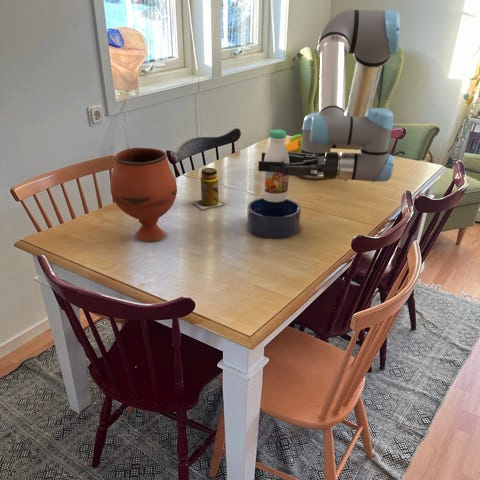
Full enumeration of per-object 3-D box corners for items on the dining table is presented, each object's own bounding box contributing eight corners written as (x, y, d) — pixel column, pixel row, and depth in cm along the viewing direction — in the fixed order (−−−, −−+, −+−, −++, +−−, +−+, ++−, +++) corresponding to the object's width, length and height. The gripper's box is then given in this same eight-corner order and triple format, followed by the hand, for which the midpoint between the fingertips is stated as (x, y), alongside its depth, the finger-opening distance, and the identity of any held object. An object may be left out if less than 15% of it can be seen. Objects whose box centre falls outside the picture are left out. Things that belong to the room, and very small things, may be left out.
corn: (311, 132, 221) (292, 142, 207) (311, 149, 225) (291, 159, 211) (297, 131, 225) (277, 140, 211) (297, 147, 229) (277, 158, 215)
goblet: (126, 222, 156) (114, 144, 142) (184, 223, 156) (179, 145, 141) (111, 249, 141) (97, 164, 126) (176, 250, 140) (169, 165, 126)
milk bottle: (257, 198, 148) (259, 130, 136) (273, 191, 152) (276, 126, 141) (276, 204, 144) (280, 135, 132) (292, 198, 148) (297, 130, 137)
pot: (283, 214, 163) (284, 194, 159) (308, 233, 150) (310, 212, 146) (239, 222, 157) (239, 201, 153) (261, 242, 145) (262, 221, 141)
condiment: (223, 204, 169) (222, 171, 162) (202, 209, 165) (201, 175, 158) (212, 198, 174) (211, 165, 167) (192, 203, 170) (190, 169, 163)
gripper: (336, 190, 133) (255, 185, 136) (335, 167, 150) (263, 163, 153) (340, 163, 129) (256, 159, 132) (338, 143, 146) (264, 139, 148)
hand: (260, 161), depth 142 cm, fingers closed on milk bottle, 8 cm apart
